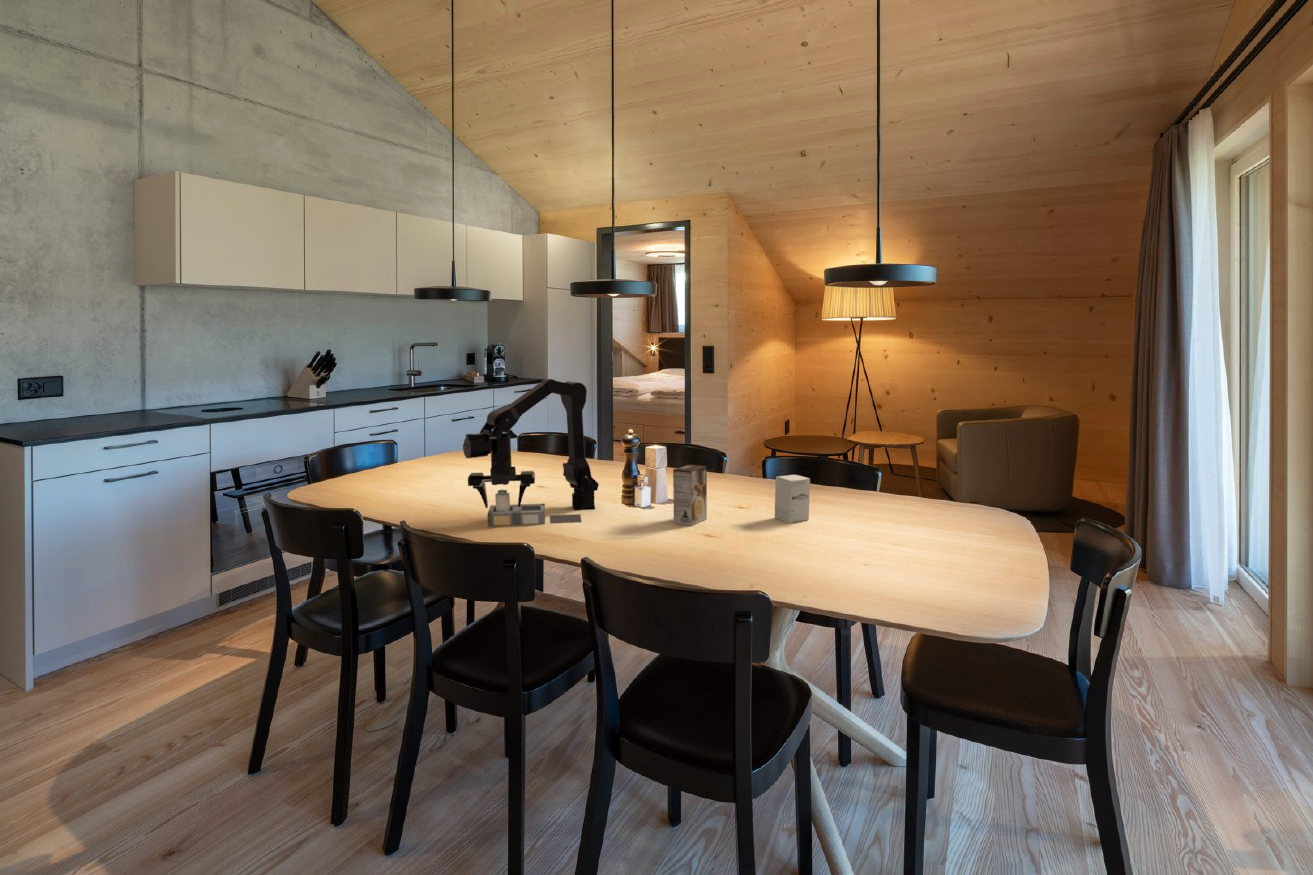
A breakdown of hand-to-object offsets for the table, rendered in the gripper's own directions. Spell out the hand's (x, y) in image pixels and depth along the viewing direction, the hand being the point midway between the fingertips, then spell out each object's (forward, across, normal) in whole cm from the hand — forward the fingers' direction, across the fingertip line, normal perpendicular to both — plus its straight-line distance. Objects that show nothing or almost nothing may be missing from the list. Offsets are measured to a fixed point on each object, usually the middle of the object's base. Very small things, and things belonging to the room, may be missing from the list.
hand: (503, 507), depth 214 cm
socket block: (+4, +4, 0) cm, 6 cm away
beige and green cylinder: (+4, 0, 0) cm, 4 cm away
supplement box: (+5, +84, -9) cm, 85 cm away
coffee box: (+5, +54, -7) cm, 55 cm away
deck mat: (+4, +18, 0) cm, 19 cm away
